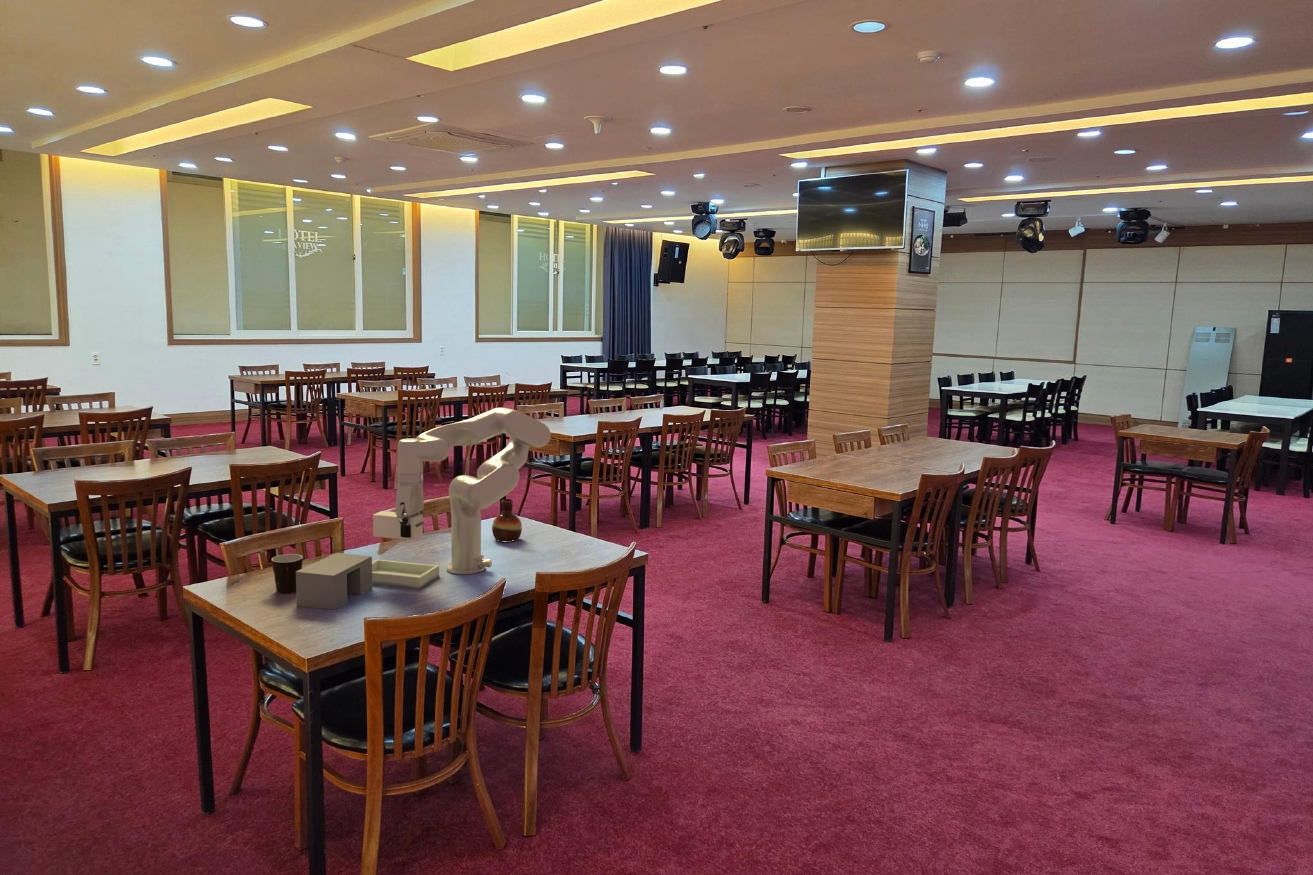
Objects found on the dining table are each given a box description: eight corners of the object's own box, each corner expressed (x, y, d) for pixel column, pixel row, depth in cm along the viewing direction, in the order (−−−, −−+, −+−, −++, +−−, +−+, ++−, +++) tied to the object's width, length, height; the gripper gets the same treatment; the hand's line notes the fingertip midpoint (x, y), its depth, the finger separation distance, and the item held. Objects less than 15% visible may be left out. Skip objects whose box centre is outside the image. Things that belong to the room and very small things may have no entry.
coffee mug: (281, 584, 254) (280, 553, 253) (308, 586, 254) (307, 554, 253) (262, 597, 243) (260, 564, 241) (291, 598, 243) (290, 566, 241)
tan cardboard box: (425, 536, 263) (425, 514, 262) (416, 540, 257) (416, 518, 256) (382, 532, 266) (382, 510, 265) (373, 536, 260) (373, 514, 259)
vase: (496, 535, 319) (497, 495, 317) (525, 536, 318) (525, 497, 316) (488, 542, 308) (488, 502, 306) (517, 544, 307) (517, 504, 305)
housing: (372, 587, 255) (371, 556, 253) (334, 609, 235) (333, 575, 234) (337, 583, 257) (336, 552, 256) (296, 605, 238) (295, 571, 236)
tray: (439, 576, 268) (439, 565, 267) (419, 588, 255) (419, 577, 255) (377, 569, 272) (377, 559, 272) (355, 581, 260) (355, 570, 259)
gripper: (412, 472, 267) (413, 527, 270) (384, 482, 251) (385, 540, 253) (434, 474, 266) (434, 529, 268) (407, 484, 249) (408, 542, 252)
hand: (410, 534), depth 261 cm, fingers closed on tan cardboard box, 5 cm apart
